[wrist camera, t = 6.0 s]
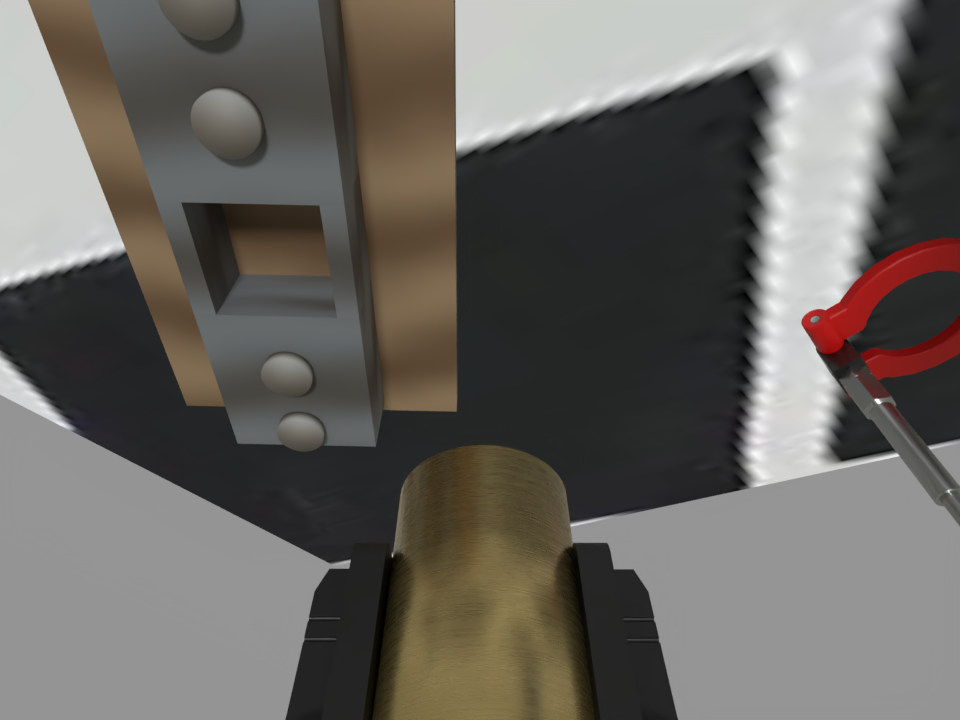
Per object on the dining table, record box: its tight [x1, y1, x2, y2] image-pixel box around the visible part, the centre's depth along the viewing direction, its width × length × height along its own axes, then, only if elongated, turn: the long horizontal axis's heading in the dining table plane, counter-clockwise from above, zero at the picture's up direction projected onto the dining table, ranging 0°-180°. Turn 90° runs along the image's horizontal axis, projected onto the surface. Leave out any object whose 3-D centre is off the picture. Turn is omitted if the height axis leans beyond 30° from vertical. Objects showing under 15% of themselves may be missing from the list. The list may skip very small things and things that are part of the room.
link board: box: [28, 0, 458, 452], centre depth 28 cm, size 24×16×5 cm, turn 179°
